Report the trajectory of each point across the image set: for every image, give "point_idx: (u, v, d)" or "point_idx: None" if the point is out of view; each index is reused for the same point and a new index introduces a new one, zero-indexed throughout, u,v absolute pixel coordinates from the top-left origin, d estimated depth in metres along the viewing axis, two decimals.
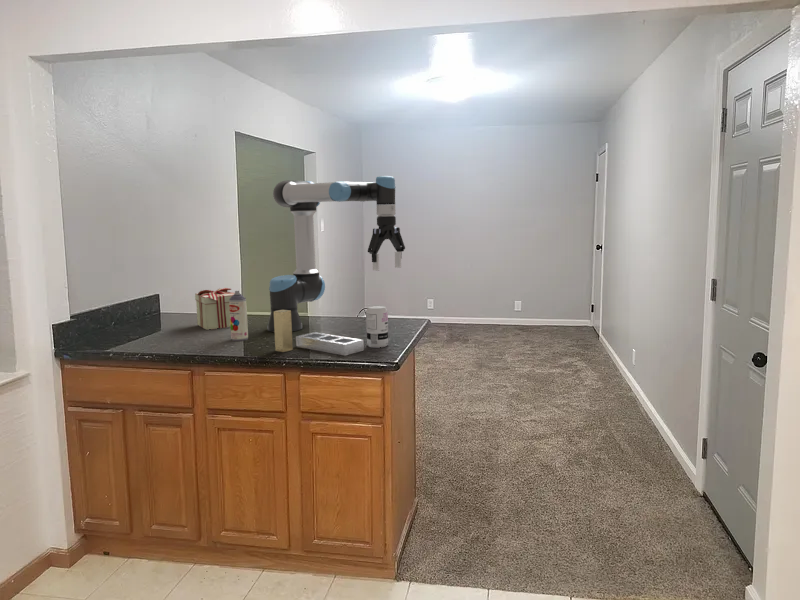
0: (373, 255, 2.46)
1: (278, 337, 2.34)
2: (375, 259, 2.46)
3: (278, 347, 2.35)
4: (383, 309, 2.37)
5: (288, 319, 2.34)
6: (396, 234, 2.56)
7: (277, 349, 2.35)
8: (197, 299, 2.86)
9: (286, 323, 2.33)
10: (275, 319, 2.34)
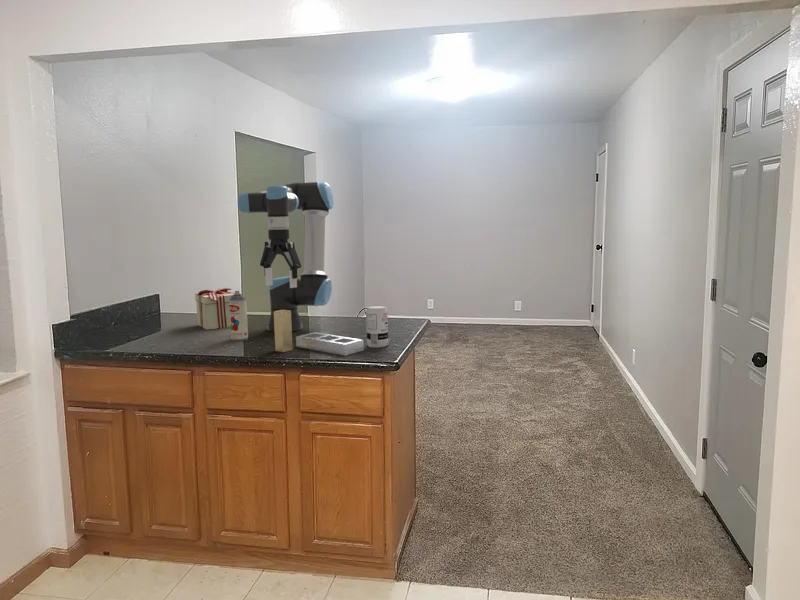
0: None
1: (278, 337, 2.34)
2: None
3: (278, 347, 2.35)
4: (383, 309, 2.37)
5: (288, 319, 2.34)
6: None
7: (277, 349, 2.35)
8: (197, 299, 2.86)
9: (286, 323, 2.33)
10: (275, 319, 2.34)
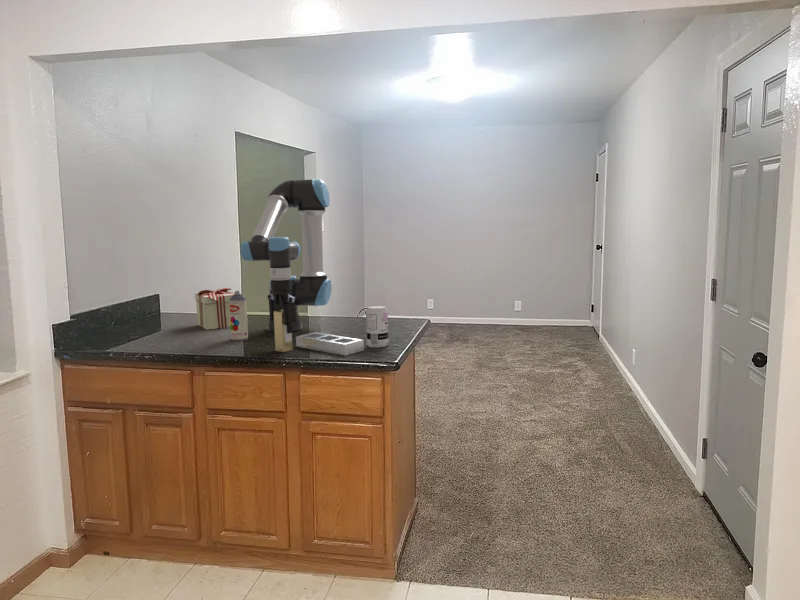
0: None
1: (278, 337, 2.34)
2: None
3: (278, 347, 2.35)
4: (383, 309, 2.37)
5: None
6: None
7: (277, 349, 2.35)
8: (197, 299, 2.86)
9: None
10: (275, 319, 2.34)
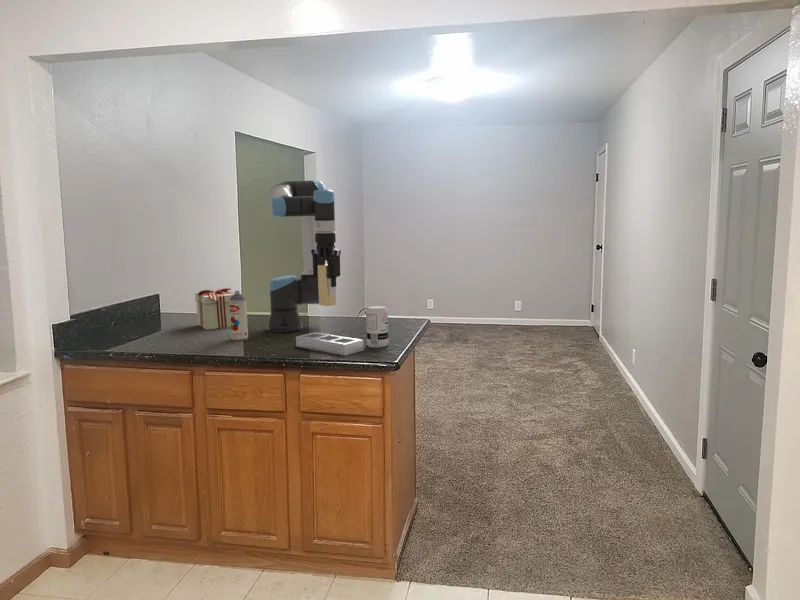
0: None
1: (322, 291, 2.33)
2: None
3: (322, 301, 2.34)
4: (383, 309, 2.37)
5: None
6: None
7: (321, 303, 2.34)
8: (197, 299, 2.86)
9: None
10: (319, 273, 2.33)
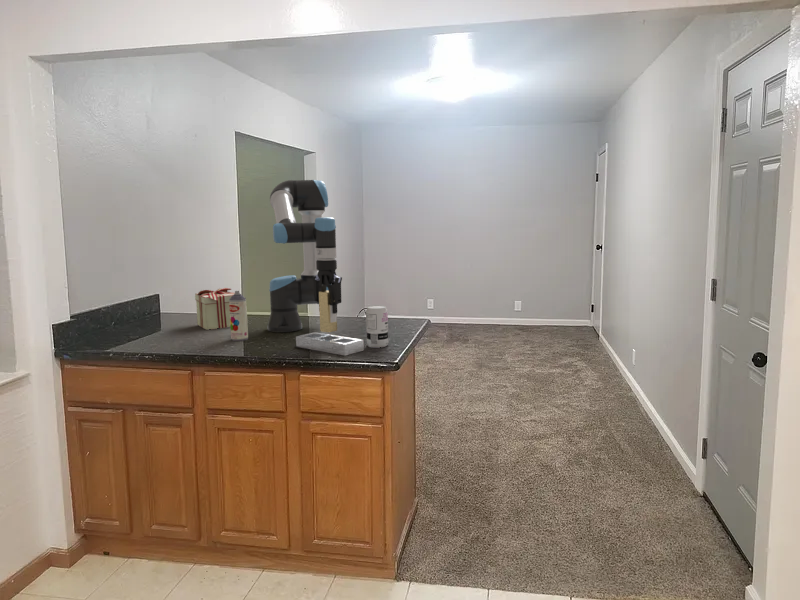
0: None
1: (323, 318, 2.35)
2: None
3: (323, 327, 2.35)
4: (383, 309, 2.37)
5: None
6: None
7: (322, 329, 2.36)
8: (197, 299, 2.86)
9: None
10: (320, 299, 2.34)
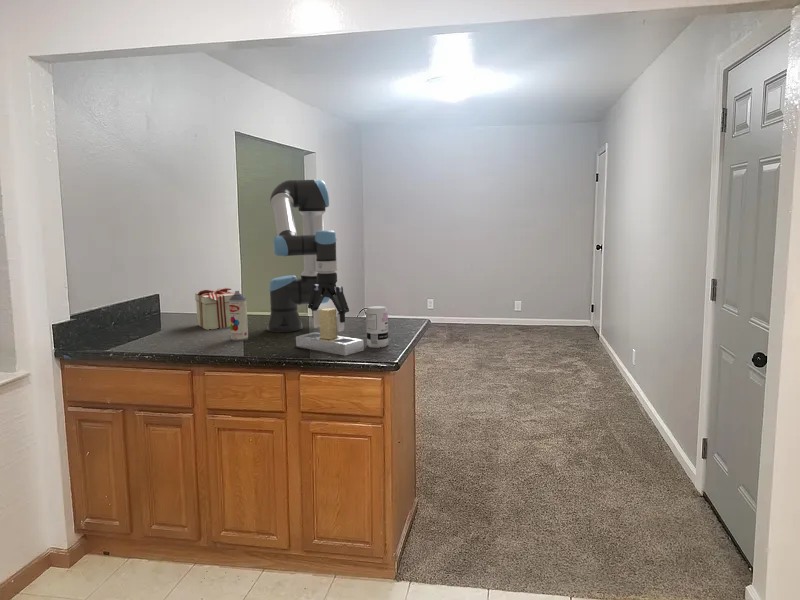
0: None
1: (323, 335, 2.36)
2: None
3: None
4: (383, 309, 2.37)
5: (333, 317, 2.36)
6: None
7: None
8: (197, 299, 2.86)
9: (332, 321, 2.35)
10: (321, 317, 2.36)
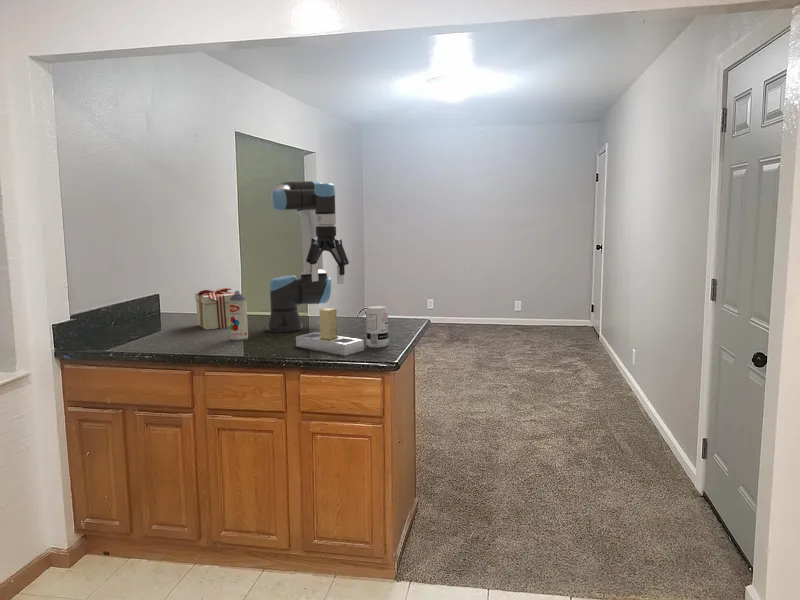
0: None
1: (323, 335, 2.36)
2: (311, 269, 2.40)
3: None
4: (383, 309, 2.37)
5: (334, 317, 2.36)
6: None
7: None
8: (197, 299, 2.86)
9: (332, 322, 2.35)
10: (321, 317, 2.36)
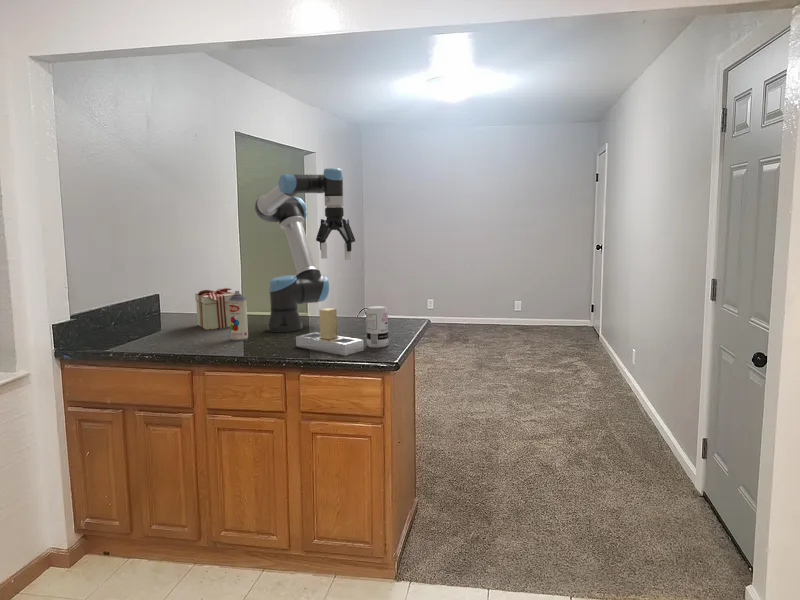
0: None
1: (323, 335, 2.36)
2: (321, 247, 2.63)
3: None
4: (383, 309, 2.37)
5: (334, 317, 2.36)
6: None
7: None
8: (197, 299, 2.86)
9: (332, 322, 2.35)
10: (321, 317, 2.36)
